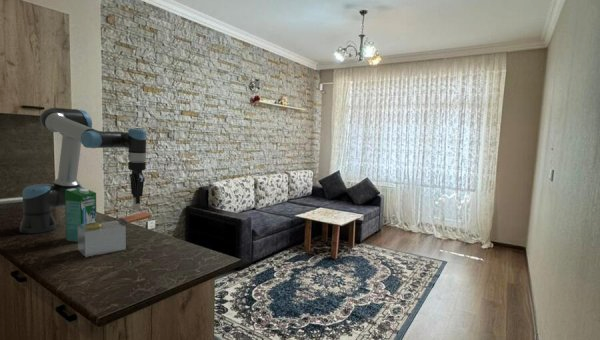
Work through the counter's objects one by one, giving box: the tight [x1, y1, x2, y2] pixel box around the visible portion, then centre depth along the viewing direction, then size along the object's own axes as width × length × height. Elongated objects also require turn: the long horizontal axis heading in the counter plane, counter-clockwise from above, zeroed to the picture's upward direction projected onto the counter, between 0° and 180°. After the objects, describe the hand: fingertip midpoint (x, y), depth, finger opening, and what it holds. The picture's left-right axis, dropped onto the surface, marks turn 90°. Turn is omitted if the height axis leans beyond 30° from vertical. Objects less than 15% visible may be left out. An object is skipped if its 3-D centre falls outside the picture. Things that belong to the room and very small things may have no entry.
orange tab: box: [118, 211, 153, 225], centre depth 160 cm, size 8×12×1 cm
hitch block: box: [77, 220, 127, 258], centre depth 150 cm, size 12×16×11 cm
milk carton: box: [64, 186, 98, 243], centre depth 162 cm, size 9×9×25 cm
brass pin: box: [86, 221, 103, 229], centre depth 148 cm, size 6×6×12 cm
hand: (136, 209), depth 161 cm, fingers closed
